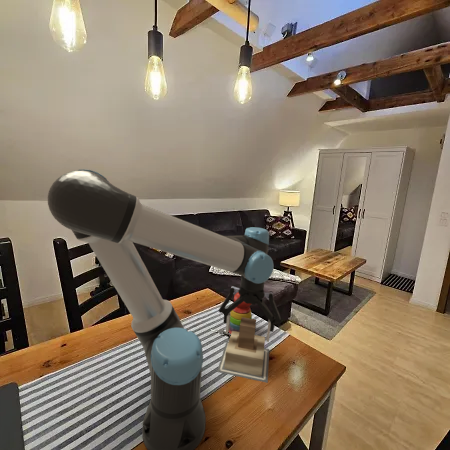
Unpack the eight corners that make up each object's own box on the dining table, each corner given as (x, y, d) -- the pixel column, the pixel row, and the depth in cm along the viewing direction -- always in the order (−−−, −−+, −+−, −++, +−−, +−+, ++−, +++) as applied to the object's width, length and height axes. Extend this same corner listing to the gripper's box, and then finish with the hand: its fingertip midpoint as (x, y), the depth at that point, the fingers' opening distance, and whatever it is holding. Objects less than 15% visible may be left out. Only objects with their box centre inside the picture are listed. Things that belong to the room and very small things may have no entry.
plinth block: (261, 376, 80) (263, 359, 79) (224, 368, 83) (225, 351, 81) (263, 351, 92) (265, 336, 91) (230, 345, 94) (232, 330, 93)
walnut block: (253, 349, 83) (255, 327, 82) (237, 347, 84) (239, 325, 83) (254, 340, 88) (256, 319, 87) (239, 338, 89) (241, 317, 88)
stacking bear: (250, 344, 96) (255, 300, 93) (224, 339, 98) (228, 296, 95) (253, 328, 107) (257, 288, 104) (229, 324, 109) (232, 285, 105)
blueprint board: (267, 384, 78) (267, 382, 78) (216, 372, 81) (216, 371, 81) (269, 350, 94) (269, 349, 94) (226, 342, 97) (226, 340, 96)
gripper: (292, 277, 83) (284, 335, 87) (217, 266, 88) (214, 322, 91) (293, 286, 76) (285, 349, 80) (212, 274, 80) (208, 334, 84)
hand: (247, 335), depth 86 cm, fingers open, 13 cm apart
